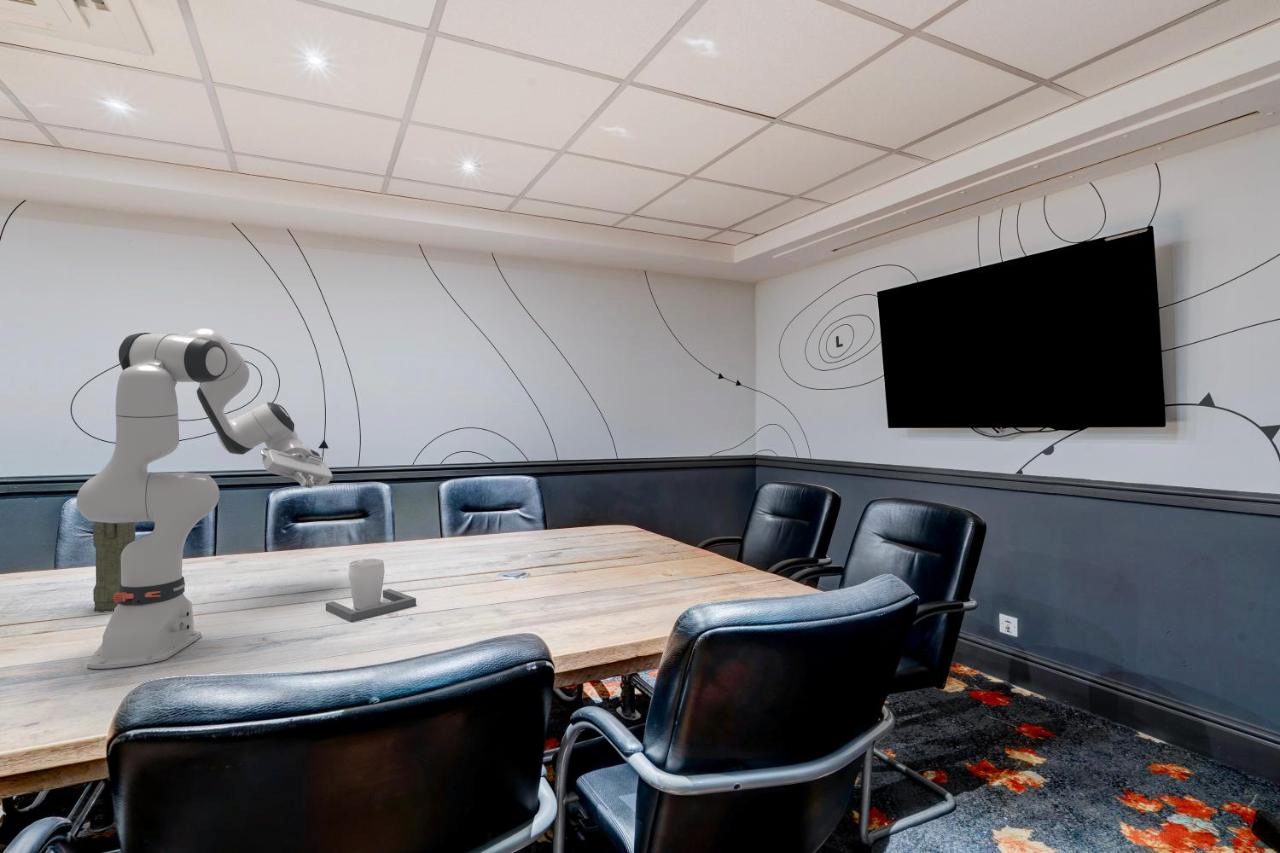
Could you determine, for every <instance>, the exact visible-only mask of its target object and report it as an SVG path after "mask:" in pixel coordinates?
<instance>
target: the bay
mask: <svg viewBox="0 0 1280 853" xmlns="http://www.w3.org/2000/svg"><path fill="white" fill-rule="evenodd" d="M382 598H384V599H387V600H390V602H386V603H380V605H377V606H372V607H368V608H364V609H356V610H355V609H352V608H350V607H347V606H346V605H343V604H340V603H338V602H336V601H334V600H333V601H329V602H325V611H326V612H328V613H330V614H332V615H335V616H337V617H339V618H341V619H344V620H346V621H348V622H350V623H352V622H357V621H360V620H364V619H367V618H368V619H369V618H372V617H377V616H379V615H384V614H387V613H392V612H396V611H399V610H404V609H407V608H412V607H416V606H417V598H416V597H413V596H410V595H408V594H406V593H402V592H399V591H397V590H394V589H391V588H388V589H387V588H386V589H382Z"/></svg>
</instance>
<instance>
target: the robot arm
mask: <svg viewBox="0 0 1280 853" xmlns="http://www.w3.org/2000/svg"><path fill="white" fill-rule="evenodd" d="M117 355H118V362H119V364H120V367H121V369H122V371H121V372H120V374H119V377H118V381H117V387H116V393H115V422H116V423H115V425H116V426H115V444H114V446H115V447H114V449H113V450H114V451H113V453H112V456H111V458H110V459H109V461H108V463H107V464H106V465H105V467H103V469H102V470H100V472H98V473H97V474H96V475H94V476H92V477H91V478H89V479H88V480H87V481H86V482H85V483H83V484H82V485H81V487H80V489H79V490H78V492H77V495H76V506H77V510H78V512H79V513H80V514H81V516H83V518H85V519H86V520H87V521H89V522H105V523H128V522H135V523H139V522H144V523H145V522H154V528H153V530H152V531H151V532H150V533H148V534H145V535H143V536H141V537H139V538H135V541H133V542H131V543H129V544H128V545H127V546H126V547H125V548H124V549H123V551H122V553H121V584H120V585H119V589H118V592H117V593H115V594H114V598H113V599H114V600H113V601H114V602H117V603H118V605H117V607H116V608H115V609H114V611H112V614H111V616H110V619H109V620H108V623H107V624H106V627H105V629H104V632H103V635H102V641H101V644H100V645H99V647H98V648H97V650H96V651H95V652H94V654H93V655H92V656H91V658H90V660H89V661H88V663H87V667H86V668H87V669H93V670H98V669H99V670H101V669H103V670H105V669H119V668H125V667H135V666H140V665H141V666H142V665H148V664H152V663H157V662H161V661H165V660H168V659H169V658H171V657H173V656H174V655H176V654H177V653H178V652H180V651H182V650H183V649H184V648H186V647H187V646H189V645H191V644H193V643H194V642H196V641H197V640H198V639H200V638H201V637H202V632H201V631H200V630H195V626H194V624H195V623H194V611H193V603H192V601H191V600H189V599H188V598H187V597H186V595H185V594H184V593H185V592H186V591H185V587H186V582H185V577H184V576H183V556H184V548H185V543H186V539H187V538H188V535H189V534H190V532H191V531H192V530H193V528H194V527H195V526H196V525H197V523H199V522H200V521H201V520H202V519H203V518H205V517H206V516H208V515H209V514H210V513H212V512H213V511H214V509H215V508H216V506H217V505H218V502H219V500H220V488H219V486H218V484H217V482H216V481H215V479H214V478H212V476H210V475H209V474H203V473H197V472H196V473H195V472H187V471H186V472H184V471H181V472H180V471H179V472H155V473H154V472H148V466H149V464H151V463H153V462H155V461H158V460H159V459H162V458H165V457H167V456H168V455H171V454H172V453H173V452H175V451H176V450H177V449H178V446H179V444H180V426H179V422H180V421H179V404H178V397H177V392H176V386H177V383H180V382H181V383H189V382H190V383H193V382H194V383H195V382H196V383H200V385H199V387H198V388H197V389H196V395H197V398H198V400H199V402H200V405H201V407H202V409H203V411H204V412H205V414H206V416H207V417H208V419H209V421H210V424H211V425H212V426H213V427H214V429H215V431H216V435H217V438H218V441H219V443H220V444H221V446H222V448H224V450H225V451H227V452H228V453H229V454H231V455H232V454H233V455H242V456H243V455H245V454H246V453H249V452H250V451H251V450H253V449H254V448H255V447H257V446H259V445H262V444H265V446H266V447H264V448H261V449H260V451H259V452H260V454H261V456H262V458H261V459H262V464H263V466H264V468H265V471H266V472H268V473H270V474H273V475H278V476H282V477H287V478H291V479H293V480H295V481H296V482H297V483H299V484H300V486H301V487H302V488H308V489H312V488H313V487H314V486H315V484H317V485H321V486H327V484H329V483H330V482H331V480H332V479H333V473H332V471H331V470H330V467H329V466H328V465H327V463H326V462H325V461H324V460H323V456H322V454H321V453H319V452H317V451H315V450H313V449H311V448H309V447H308V446H307V445H306V444H303V442H302V440H301V439H299V437H298V436H299V435H298V434H297V432H296V430H295V422H294V421H293V419H292V418H291V417H290V415H289V413H288V412H287V410H286V409H285V407H283V406H282V405H280V404H278V403H274V402H270V401H269V402H265V403H263V404H261V405H258V406H257V407H255V408H253V409H251V410H249V411H248V412H245V413H244V414H241V415H239V416H237V417H235V418H232V419H229V418H228V417H227V415H226V413H225V412H224V409H225V408H226V406H227V405H228V403H230V401H231V400H233V399H234V398H235V397H236V396H238V395H239V394H240V393H241V392H242V391H243V390H244V389H245V388H246V386H247V384H248V383H249V382H248V381H249V379H250V369H249V366H248V364H247V363H246V361H245V359H244V357H243V356H242V355H241V353H240V352H238V350H237V349H236V348H235V347H234V345H233V344H231V343H230V342H229V341H228V340H227V339H226V338H225V337H223V335H222V334H220V333H219V332H217V331H216V330H214V329H210V328H207V327H199V328H196V329H191V330H190V331H189V332H187V333H186V334H185V335H183V334H182V335H181V334H178V333H164V332H162V333H156V332H155V333H152V332H139V333H134V334H129V335H128V336H126V337H125V338H124V339H123V341H122V342H121V344H120V346H119V349H118V354H117Z"/></svg>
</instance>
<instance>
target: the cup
mask: <svg viewBox="0 0 1280 853" xmlns="http://www.w3.org/2000/svg"><path fill="white" fill-rule="evenodd" d="M348 566H349V567H348V569H349V570H348V579H349V586H350V593H351V598H352V606H353V608H354V609H356V610H360V609H364V608H368V607H372V606H377V605H381V599H382V594H383V585H384V579H385V561H384V559H380V558H366V559H365V558H364V559H357V560H354V561H351V562H350V563H349V564H348Z"/></svg>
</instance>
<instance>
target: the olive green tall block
mask: <svg viewBox="0 0 1280 853" xmlns="http://www.w3.org/2000/svg"><path fill="white" fill-rule="evenodd" d="M135 540H136V522H128V523H105V522H95V521H93V524H92V545H93V546H94V549H95V585H94V587H93V591H92V592H93V594H92V595H93V599H92V600H93V602H94V610H96V611H110V612H113V611H112V610H114V609H115V608H116V607H117V605H118V603H117V602H114V601H113V600H114V599H113V598H114V594H115V593H117V592H118V589H119V585H120V584H121V553H122V551H123V549H124V548H125V547H126V546H127V545H128V544H129V543H131V542H133V541H135ZM96 611H95V612H96Z"/></svg>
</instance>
